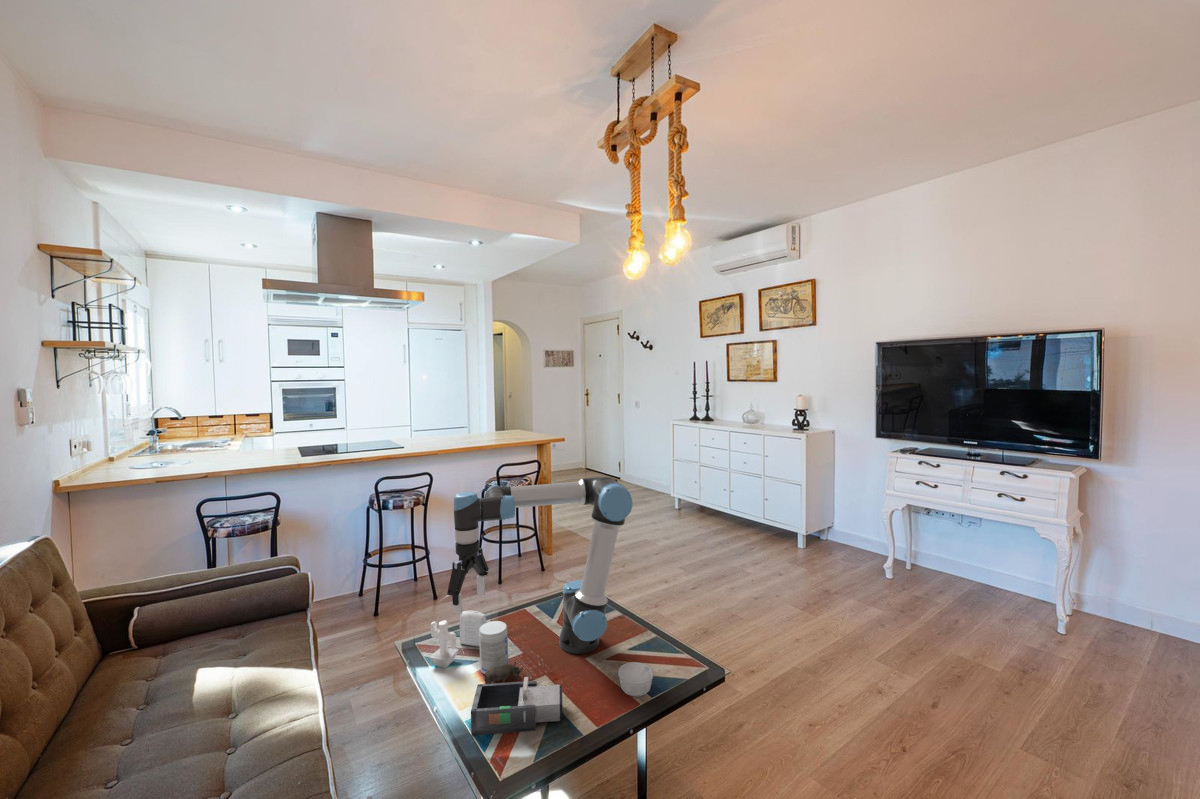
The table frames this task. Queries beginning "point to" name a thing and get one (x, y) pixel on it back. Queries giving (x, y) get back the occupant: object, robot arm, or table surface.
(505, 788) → the table surface
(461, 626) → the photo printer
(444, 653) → the figurine
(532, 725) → the gauge housing
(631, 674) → the ramekin
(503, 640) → the supplement tub
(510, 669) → the rhino figurine
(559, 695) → the plunger
